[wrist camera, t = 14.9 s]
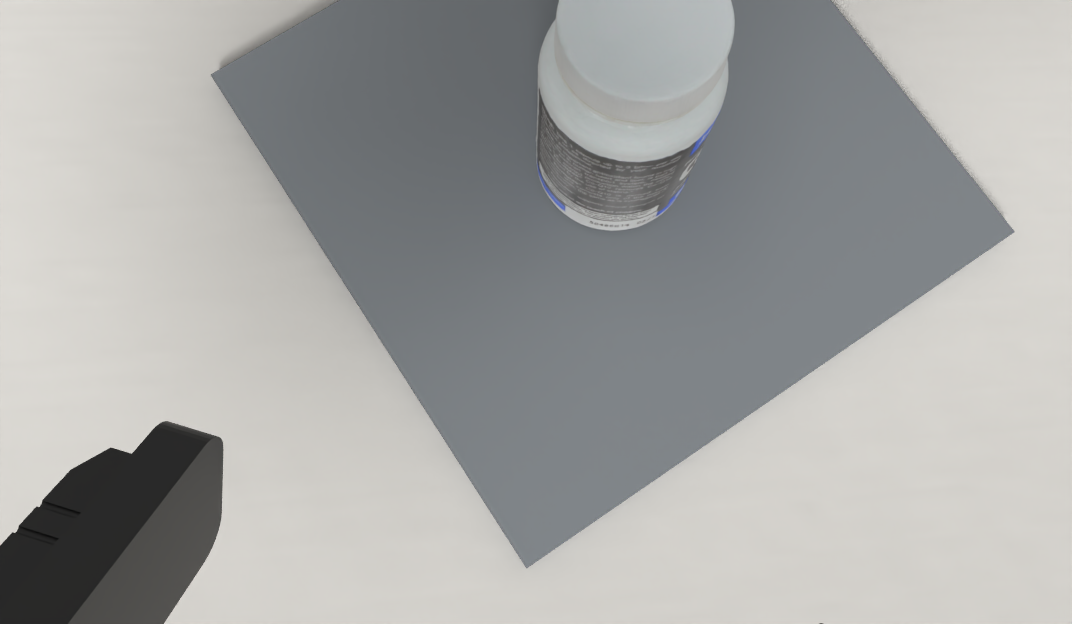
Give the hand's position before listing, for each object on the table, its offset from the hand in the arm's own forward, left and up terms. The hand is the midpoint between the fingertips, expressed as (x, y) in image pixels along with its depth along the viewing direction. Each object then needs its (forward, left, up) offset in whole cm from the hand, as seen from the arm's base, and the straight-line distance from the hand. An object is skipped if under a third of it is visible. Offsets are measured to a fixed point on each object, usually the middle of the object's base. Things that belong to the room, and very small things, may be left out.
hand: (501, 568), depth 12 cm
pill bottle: (-9, -8, -14) cm, 19 cm away
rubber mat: (-9, -8, -15) cm, 19 cm away
